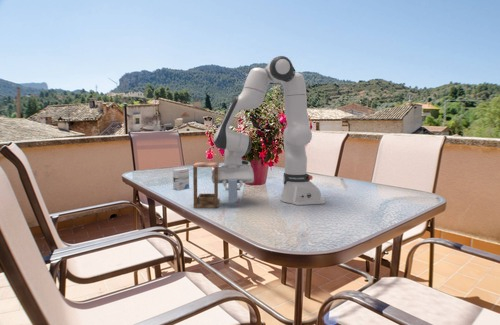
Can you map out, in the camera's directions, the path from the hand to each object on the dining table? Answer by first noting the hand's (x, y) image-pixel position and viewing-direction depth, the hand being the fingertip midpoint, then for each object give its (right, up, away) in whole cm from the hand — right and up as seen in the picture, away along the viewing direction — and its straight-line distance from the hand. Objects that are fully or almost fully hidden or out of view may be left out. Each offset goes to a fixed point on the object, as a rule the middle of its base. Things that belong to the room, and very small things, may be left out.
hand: (232, 189), depth 139 cm
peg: (0, -5, +1) cm, 5 cm away
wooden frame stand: (-13, -7, +6) cm, 16 cm away
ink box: (-33, -3, +39) cm, 51 cm away
